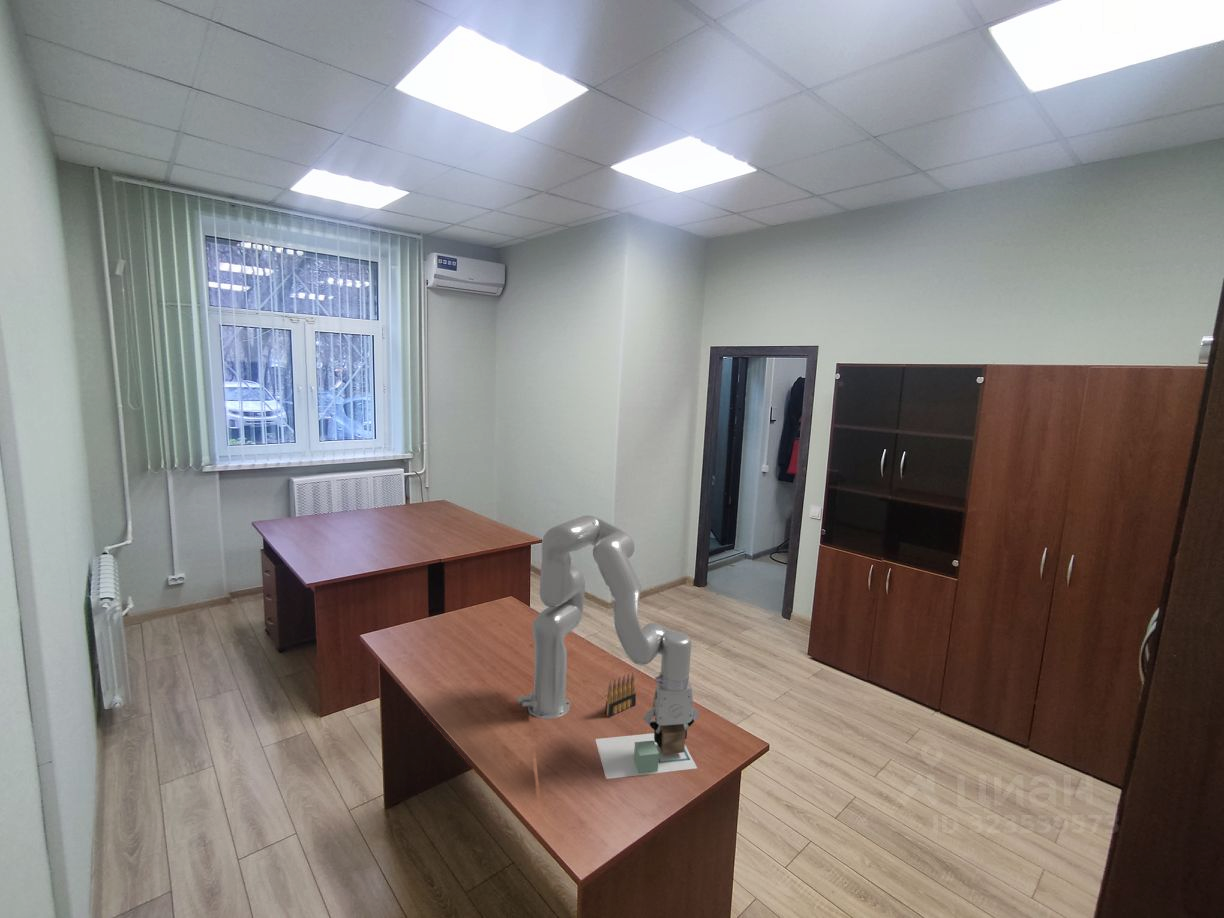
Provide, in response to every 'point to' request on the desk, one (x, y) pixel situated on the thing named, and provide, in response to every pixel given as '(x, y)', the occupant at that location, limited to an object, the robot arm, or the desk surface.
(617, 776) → the building board
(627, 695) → the ammunition clip
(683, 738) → the walnut block
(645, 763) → the sage cube
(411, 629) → the desk surface
